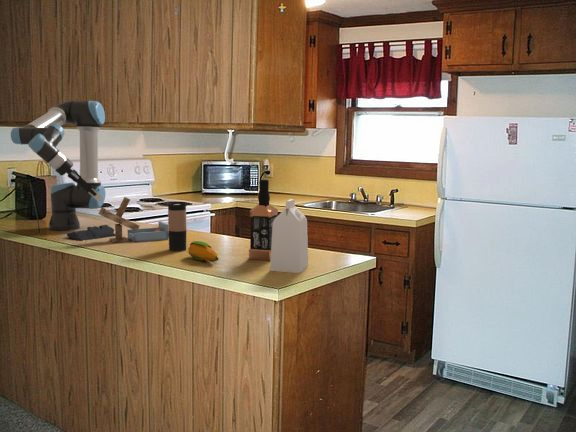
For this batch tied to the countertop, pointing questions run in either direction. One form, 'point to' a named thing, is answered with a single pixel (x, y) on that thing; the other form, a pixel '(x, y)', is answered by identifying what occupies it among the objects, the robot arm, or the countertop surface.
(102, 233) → the dark slate chunk
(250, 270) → the countertop surface
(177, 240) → the travel mug
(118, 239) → the fulcrum
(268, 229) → the whiskey bottle
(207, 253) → the corn
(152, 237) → the bin
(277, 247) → the milk
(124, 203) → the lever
